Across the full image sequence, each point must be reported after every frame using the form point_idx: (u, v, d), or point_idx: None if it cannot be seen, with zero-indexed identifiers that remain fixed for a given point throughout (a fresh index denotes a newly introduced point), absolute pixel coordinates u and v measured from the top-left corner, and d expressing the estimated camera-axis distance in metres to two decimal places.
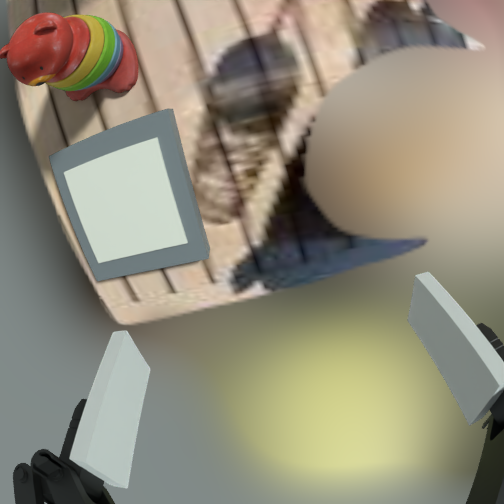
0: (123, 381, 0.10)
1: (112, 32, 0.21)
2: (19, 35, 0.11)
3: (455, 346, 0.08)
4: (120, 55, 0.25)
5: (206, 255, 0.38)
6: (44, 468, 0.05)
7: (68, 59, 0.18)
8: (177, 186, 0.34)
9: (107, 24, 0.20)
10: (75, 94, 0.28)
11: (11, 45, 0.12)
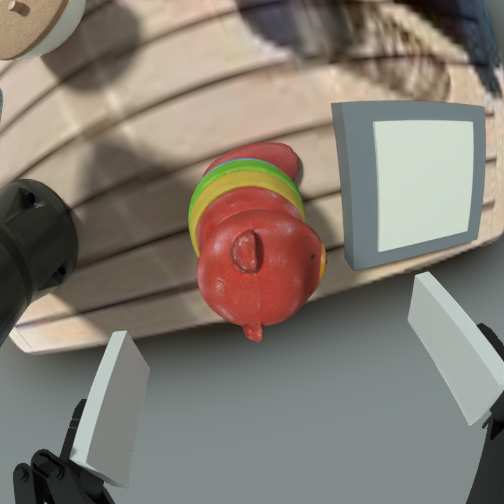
0: (123, 381, 0.10)
1: (229, 163, 0.21)
2: (245, 304, 0.14)
3: (455, 346, 0.08)
4: None
5: (482, 107, 0.22)
6: (44, 468, 0.05)
7: None
8: (424, 112, 0.23)
9: (215, 171, 0.21)
10: None
11: (256, 318, 0.14)
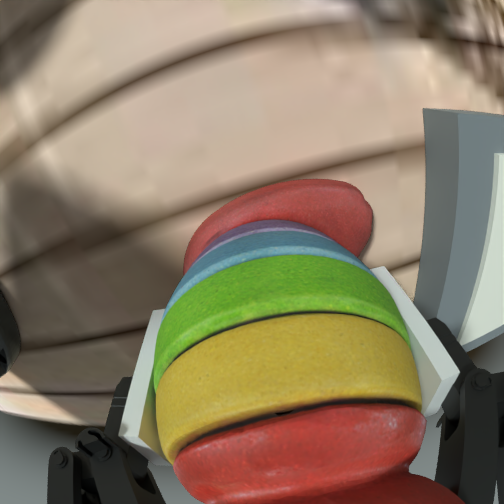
0: None
1: (249, 269, 0.08)
2: None
3: None
4: (305, 228, 0.11)
5: None
6: (90, 447, 0.06)
7: (401, 463, 0.05)
8: None
9: (208, 294, 0.08)
10: None
11: None
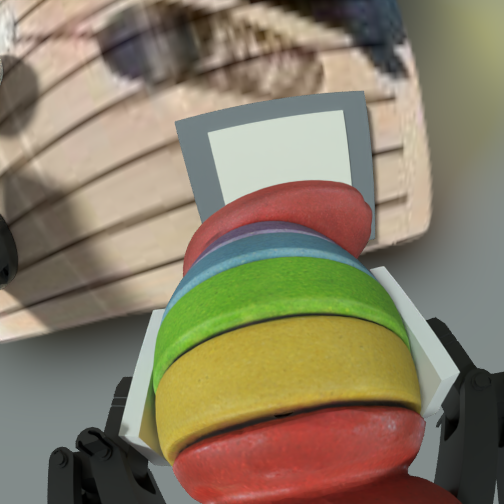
0: None
1: (248, 271, 0.08)
2: None
3: None
4: (304, 229, 0.11)
5: (359, 92, 0.26)
6: (91, 447, 0.06)
7: (400, 465, 0.05)
8: (270, 111, 0.26)
9: (208, 296, 0.08)
10: None
11: None
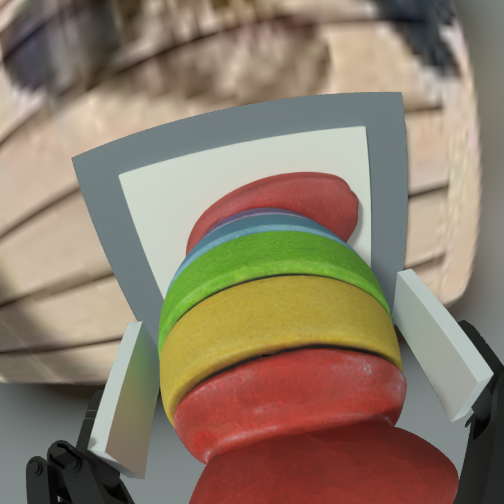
0: (139, 371, 0.10)
1: (241, 242, 0.09)
2: None
3: (435, 342, 0.09)
4: (293, 213, 0.12)
5: (394, 94, 0.13)
6: (61, 459, 0.06)
7: (382, 414, 0.06)
8: (228, 129, 0.14)
9: (207, 264, 0.09)
10: None
11: None
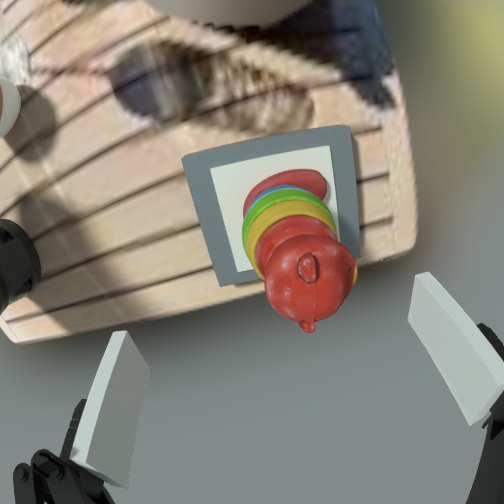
0: (123, 381, 0.10)
1: (277, 192, 0.26)
2: (305, 305, 0.19)
3: (455, 346, 0.08)
4: (295, 185, 0.29)
5: (345, 127, 0.30)
6: (44, 468, 0.05)
7: None
8: (264, 149, 0.31)
9: (265, 199, 0.26)
10: None
11: (311, 315, 0.20)
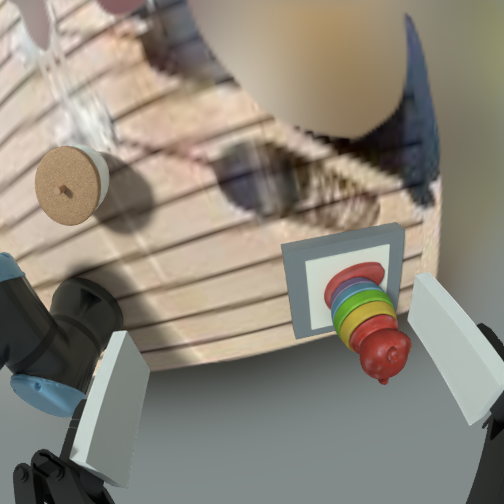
0: (123, 381, 0.10)
1: (363, 293, 0.37)
2: (387, 373, 0.30)
3: (455, 346, 0.08)
4: (368, 280, 0.40)
5: (402, 230, 0.41)
6: (44, 468, 0.05)
7: (393, 328, 0.34)
8: (346, 248, 0.42)
9: (356, 298, 0.37)
10: None
11: (387, 376, 0.31)
